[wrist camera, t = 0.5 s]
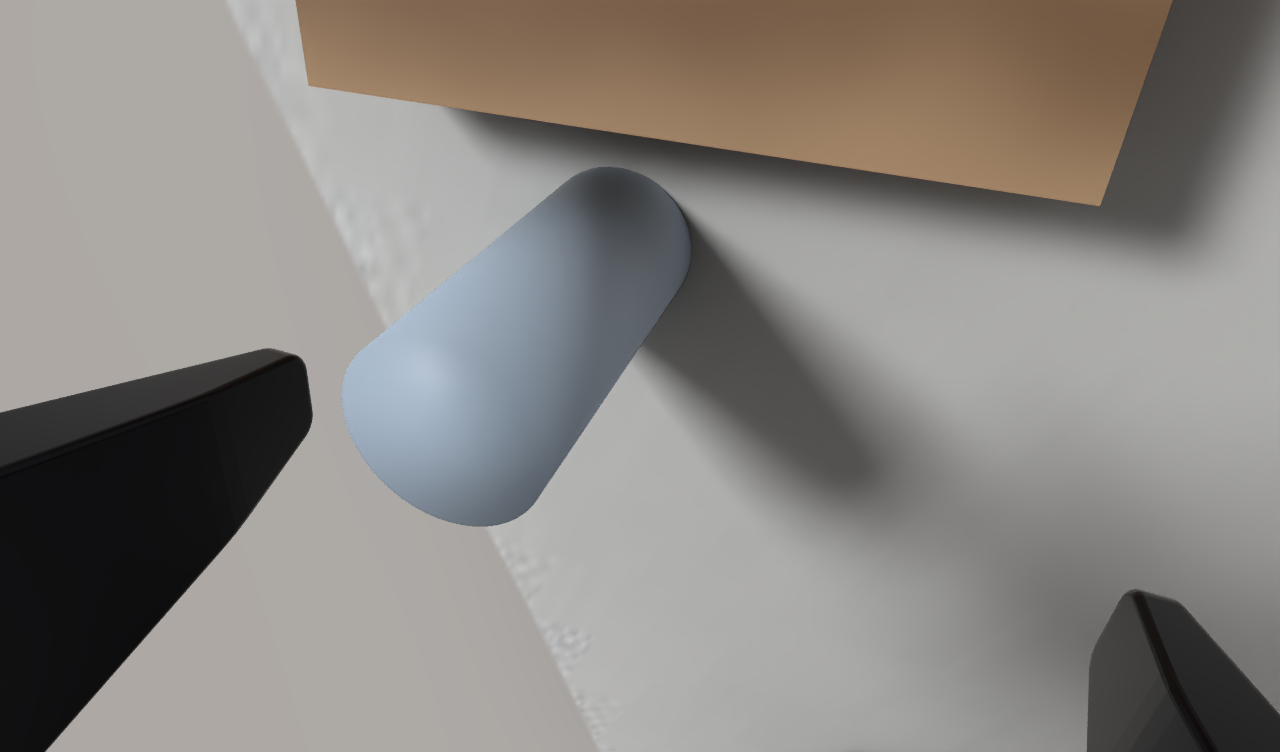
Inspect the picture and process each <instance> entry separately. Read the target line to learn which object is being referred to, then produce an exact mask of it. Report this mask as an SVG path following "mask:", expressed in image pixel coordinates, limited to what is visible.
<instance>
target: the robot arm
mask: <svg viewBox="0 0 1280 752" xmlns="http://www.w3.org/2000/svg"><path fill="white" fill-rule="evenodd" d="M312 417H313V412H312V404H311V397H310V390H309V383H308V376H307V369H306V365H305V363H304V362H303V360H302V359H301V358H300V357H298V356H297V355H294V354H291V353H287V352H284V351H280V350H276V349H270V348H266V349H261V350H257V351H253V352H248V353H244V354H240V355H236V356H232V357H228V358H224V359H220V360H215V361H211V362H207V363H203V364H199V365H195V366H191V367H187V368H182V369H178V370H174V371H170V372H166V373H162V374H158V375H153V376H149V377H145V378H141V379H137V380H133V381H129V382H125V383H120V384H116V385H112V386H108V387H104V388H100V389H96V390H92V391H87V392H83V393H79V394H75V395H71V396H67V397H63V398H59V399H55V400H50V401H46V402H42V403H38V404H34V405H30V406H25V407H21V408H17V409H13V410H9V411H5V412H1V413H0V752H46V750H47V749H48V748H49V747H50V746H51V745H52V744H53V742H54V741H55V740H56V739H57V738H58V737H59V736H60V734H61V733H62V732H63V731H64V730H65V728H67V726H68V725H69V724H70V723H71V722H72V720H74V718H75V717H76V716H77V715H78V714H79V713H80V711H81V710H82V709H83V708H84V707H85V706H86V705H87V704H88V702H89V701H90V700H91V699H92V698H93V697H94V696H95V694H96V693H97V692H98V691H99V690H100V689H101V688H102V686H103V685H104V684H105V683H106V682H107V681H108V680H109V678H110V677H111V676H112V675H113V674H114V672H116V670H117V669H118V668H119V667H120V666H121V665H122V663H123V662H124V661H125V660H126V659H127V658H128V657H129V656H130V654H131V653H132V652H133V651H134V650H135V649H136V648H137V646H138V645H139V644H140V643H141V642H142V641H143V640H144V638H145V637H146V636H147V635H148V634H149V633H150V632H151V630H152V629H153V628H154V627H155V626H156V625H157V624H158V622H159V621H160V620H161V619H162V618H163V617H164V616H165V615H166V613H167V612H168V611H169V610H170V609H171V608H172V607H173V605H174V604H175V603H176V602H177V601H178V600H179V598H180V597H181V596H182V595H183V594H184V593H185V592H186V590H187V589H188V588H189V587H190V586H191V585H192V584H193V583H194V581H195V580H196V579H197V578H198V577H199V575H201V573H202V572H203V571H204V570H205V569H206V568H207V566H208V565H209V564H210V563H211V562H212V561H213V560H214V559H215V557H216V556H217V555H218V554H219V553H220V552H221V551H222V549H223V548H224V547H225V546H226V545H227V543H228V542H229V541H230V540H231V539H232V537H233V536H234V535H235V534H236V533H237V531H238V530H239V529H240V527H241V526H242V525H243V523H244V522H245V521H246V519H247V518H248V517H249V515H250V514H251V513H252V511H253V510H254V508H255V507H256V506H257V504H258V503H259V501H260V500H261V498H262V497H263V496H264V494H265V493H266V491H267V490H268V489H269V487H270V486H271V484H272V483H273V481H274V480H275V479H276V477H277V476H278V475H279V473H280V472H281V470H282V469H283V467H284V466H285V464H286V463H287V462H288V461H289V459H290V458H291V456H292V455H293V454H294V452H295V451H296V449H297V448H298V446H299V445H300V444H301V442H302V441H303V439H304V438H305V437H306V435H307V433H308V431H309V429H310V426H311V423H312ZM1087 752H1280V714H1279V713H1278V712H1277V711H1276V709H1275V708H1274V707H1273V706H1272V705H1271V704H1270V703H1269V702H1268V700H1267V699H1266V698H1265V697H1264V696H1263V695H1262V694H1261V693H1260V691H1259V690H1258V689H1257V688H1256V687H1255V686H1254V685H1253V684H1252V682H1251V681H1250V680H1249V679H1248V678H1247V677H1246V676H1245V675H1244V673H1243V672H1242V671H1241V670H1240V669H1239V668H1238V667H1237V666H1236V664H1235V663H1234V662H1233V661H1232V660H1231V659H1230V658H1229V657H1228V656H1227V654H1226V653H1225V652H1224V651H1223V650H1222V649H1221V648H1220V647H1219V645H1218V644H1217V643H1216V642H1215V641H1214V640H1213V639H1212V638H1211V636H1210V635H1209V634H1208V633H1207V632H1206V631H1205V630H1204V629H1203V627H1202V626H1201V625H1200V624H1199V623H1198V622H1197V621H1196V620H1195V618H1194V617H1193V616H1192V615H1191V614H1190V613H1189V612H1188V611H1187V609H1186V608H1185V607H1184V606H1183V605H1182V604H1180V603H1179V602H1178V601H1176V600H1174V599H1171V598H1167V597H1163V596H1160V595H1156V594H1153V593H1149V592H1145V591H1142V590H1138V589H1134V590H1130V591H1128V592H1127V593H1126V594H1125V595H1124V596H1123V597H1122V598H1121V600H1120V601H1119V603H1118V605H1117V607H1116V609H1115V610H1114V612H1113V614H1112V616H1111V618H1110V620H1109V621H1108V623H1107V625H1106V627H1105V629H1104V631H1103V632H1102V634H1101V636H1100V638H1099V640H1098V642H1097V643H1096V645H1095V648H1094V650H1093V653H1092V657H1091V661H1090V668H1089V695H1088V727H1087Z"/></svg>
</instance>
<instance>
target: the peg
mask: <svg viewBox="0 0 1280 752" xmlns="http://www.w3.org/2000/svg"><path fill="white" fill-rule="evenodd" d="M690 261H691V240H690V235H689V230H688V227H687V224H686V222H685V219H684V217H683V215H682V213H681V211H680V209H679V208H678V206H677V205H676V204H675V202H674V201H673V199H672V198H671V197H670V196H669V195H668V194H667V193H666V192H665V191H664V190H663V189H662V188H661V187H660V186H658V185H657V184H656V183H654V182H653V181H651V180H650V179H648V178H647V177H645V176H643V175H641V174H639V173H636V172H633V171H630V170H627V169H622V168H616V167H599V168H593V169H589V170H586V171H583V172H581V173H579V174H577V175H575V176H573V177H572V178H571V179H569V180H568V181H567V182H565V183H564V184H563V185H562V186H560V187H559V188H558V189H557V190H556V191H554V192H553V193H552V194H551V195H549V196H548V197H547V198H546V199H545V200H543V201H542V202H541V203H540V204H539V205H537V206H536V207H535V208H534V209H532V210H531V211H530V212H529V213H528V214H526V215H525V216H524V217H523V218H522V219H520V220H519V221H518V222H517V223H515V224H514V225H513V226H512V227H511V228H509V229H508V230H507V231H506V232H505V233H503V234H502V235H501V236H500V237H498V238H497V239H496V240H495V241H494V242H492V243H491V244H490V245H489V246H488V247H486V248H485V249H484V250H483V251H481V252H480V253H479V254H478V255H477V256H475V257H474V258H473V259H472V260H471V261H469V262H468V263H467V264H466V265H464V266H463V267H462V268H461V269H460V270H458V271H457V272H456V273H455V274H454V275H452V276H451V277H450V278H449V279H447V280H446V281H445V282H444V283H443V284H441V285H440V286H439V287H438V288H437V289H435V290H434V291H433V292H432V293H430V294H429V295H428V296H427V297H426V298H424V299H423V300H422V301H421V302H420V303H418V304H417V305H416V306H415V307H413V308H412V309H411V310H410V311H409V312H407V313H406V314H405V315H404V316H403V317H401V318H400V319H399V320H398V321H397V322H395V323H394V324H393V325H392V326H390V327H389V328H388V329H387V330H386V331H384V332H383V333H382V334H381V335H380V336H378V337H377V338H376V339H375V340H373V341H372V342H371V343H370V344H369V345H367V346H366V347H365V348H364V349H363V350H361V351H360V352H359V353H358V355H357V356H356V357H355V358H354V359H353V361H352V362H351V364H350V365H349V367H348V370H347V372H346V375H345V377H344V382H343V387H342V407H343V413H344V418H345V422H346V425H347V428H348V431H349V433H350V436H351V438H352V440H353V442H354V444H355V446H356V448H357V450H358V451H359V453H360V455H361V456H362V458H363V459H364V460H365V462H366V463H367V465H368V466H369V467H370V469H371V470H372V471H373V472H374V473H375V474H376V476H377V477H378V478H379V479H380V480H381V481H382V482H383V483H384V484H386V486H387V487H388V488H390V489H391V490H392V491H393V492H394V493H396V494H397V495H398V496H400V497H401V498H402V499H404V500H405V501H406V502H408V503H410V504H411V505H412V506H414V507H416V508H418V509H420V510H421V511H423V512H425V513H427V514H430V515H432V516H434V517H437V518H439V519H442V520H445V521H448V522H452V523H456V524H460V525H467V526H493V525H499V524H503V523H506V522H509V521H511V520H514V519H516V518H518V517H519V516H521V515H522V514H524V513H525V512H527V511H528V510H529V509H530V508H531V507H532V506H533V505H534V503H535V502H536V500H537V499H538V497H539V496H540V494H541V493H542V491H543V490H544V488H545V487H546V485H547V484H548V483H549V481H550V480H551V478H552V477H553V475H554V474H555V472H556V471H557V469H558V468H559V466H560V465H561V463H562V462H563V460H564V459H565V457H566V456H567V454H568V453H569V451H570V450H571V448H572V447H573V445H574V444H575V442H576V441H577V439H578V438H579V436H580V435H581V434H582V432H583V431H584V429H585V428H586V426H587V425H588V423H589V422H590V420H591V419H592V417H593V416H594V414H595V413H596V411H597V410H598V408H599V407H600V405H601V404H602V402H603V401H604V399H605V398H606V396H607V395H608V393H609V392H610V390H611V389H612V388H613V386H614V385H615V383H616V382H617V380H618V379H619V377H620V376H621V374H622V373H623V371H624V370H625V368H626V367H627V365H628V364H629V362H630V361H631V359H632V358H633V356H634V355H635V353H636V352H637V350H638V349H639V347H640V346H641V344H642V343H643V341H644V340H645V339H646V337H647V336H648V334H649V333H650V331H651V330H652V328H653V327H654V325H655V324H656V322H657V321H658V319H659V318H660V316H661V315H662V313H663V312H664V310H665V309H666V307H667V306H668V304H669V303H670V301H671V300H672V298H673V297H674V295H675V294H676V293H677V291H678V290H679V288H680V287H681V285H682V284H683V282H684V280H685V278H686V276H687V273H688V270H689V266H690Z"/></svg>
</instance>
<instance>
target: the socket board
mask: <svg viewBox="0 0 1280 752" xmlns="http://www.w3.org/2000/svg"><path fill="white" fill-rule="evenodd" d="M1172 2H1173V0H296V6H297V12H298V19H299V25H300V32H301V39H302V45H303V52H304V58H305V65H306V71H307V78H308V84H309V86H314V87H320V88H327V89H333V90H340V91H346V92H353V93H360V94H366V95H373V96H379V97H386V98H392V99H399V100H406V101H412V102H419V103H425V104H432V105H438V106H445V107H452V108H458V109H465V110H471V111H478V112H484V113H491V114H497V115H504V116H511V117H517V118H524V119H530V120H537V121H543V122H550V123H557V124H563V125H570V126H576V127H583V128H589V129H596V130H603V131H609V132H616V133H622V134H629V135H635V136H642V137H649V138H655V139H662V140H668V141H675V142H681V143H688V144H695V145H701V146H708V147H714V148H721V149H727V150H734V151H740V152H747V153H754V154H760V155H767V156H773V157H780V158H786V159H793V160H800V161H806V162H813V163H819V164H826V165H832V166H839V167H846V168H852V169H859V170H865V171H872V172H878V173H885V174H892V175H898V176H905V177H911V178H918V179H924V180H931V181H937V182H944V183H951V184H957V185H964V186H970V187H977V188H983V189H990V190H997V191H1003V192H1010V193H1016V194H1023V195H1029V196H1036V197H1043V198H1049V199H1056V200H1062V201H1069V202H1075V203H1082V204H1089V205H1095V206H1100V205H1101V202H1102V199H1103V196H1104V194H1105V191H1106V188H1107V185H1108V182H1109V180H1110V177H1111V174H1112V171H1113V168H1114V165H1115V163H1116V160H1117V157H1118V154H1119V151H1120V148H1121V146H1122V143H1123V140H1124V137H1125V134H1126V132H1127V129H1128V126H1129V123H1130V120H1131V117H1132V115H1133V112H1134V109H1135V106H1136V103H1137V101H1138V98H1139V95H1140V92H1141V89H1142V86H1143V84H1144V81H1145V78H1146V75H1147V72H1148V70H1149V67H1150V64H1151V61H1152V58H1153V55H1154V53H1155V50H1156V47H1157V44H1158V41H1159V38H1160V36H1161V33H1162V30H1163V27H1164V24H1165V22H1166V19H1167V16H1168V13H1169V10H1170V7H1171V5H1172Z"/></svg>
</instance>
